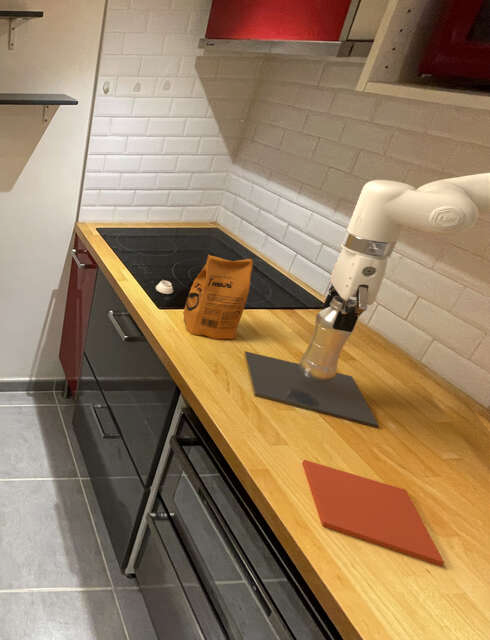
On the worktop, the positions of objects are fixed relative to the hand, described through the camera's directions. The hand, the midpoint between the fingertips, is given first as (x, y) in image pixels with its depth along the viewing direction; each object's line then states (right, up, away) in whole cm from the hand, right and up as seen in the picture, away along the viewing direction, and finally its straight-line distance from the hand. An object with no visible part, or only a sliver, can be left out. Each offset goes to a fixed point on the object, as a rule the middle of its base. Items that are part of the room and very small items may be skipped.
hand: (336, 320), depth 94 cm
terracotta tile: (-11, -29, -19) cm, 36 cm away
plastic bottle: (0, -14, +6) cm, 15 cm away
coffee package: (-12, -8, +28) cm, 32 cm away
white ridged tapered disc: (-15, +1, +46) cm, 49 cm away
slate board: (-1, -17, +8) cm, 19 cm away
